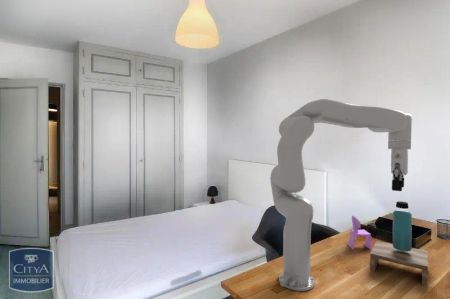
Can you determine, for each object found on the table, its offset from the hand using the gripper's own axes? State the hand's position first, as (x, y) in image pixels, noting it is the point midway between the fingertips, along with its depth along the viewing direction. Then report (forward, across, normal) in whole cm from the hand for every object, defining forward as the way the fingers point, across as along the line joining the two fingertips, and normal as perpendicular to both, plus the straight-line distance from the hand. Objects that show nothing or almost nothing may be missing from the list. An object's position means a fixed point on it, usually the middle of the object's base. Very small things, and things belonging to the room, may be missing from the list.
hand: (398, 188), depth 105 cm
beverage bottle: (+25, +1, -2) cm, 25 cm away
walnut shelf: (+32, 0, -1) cm, 32 cm away
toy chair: (+32, +15, +16) cm, 39 cm away
